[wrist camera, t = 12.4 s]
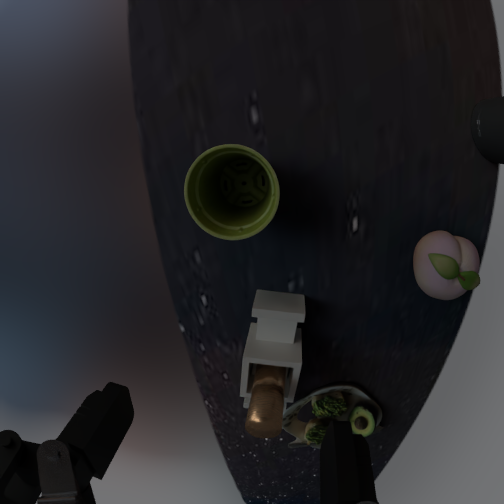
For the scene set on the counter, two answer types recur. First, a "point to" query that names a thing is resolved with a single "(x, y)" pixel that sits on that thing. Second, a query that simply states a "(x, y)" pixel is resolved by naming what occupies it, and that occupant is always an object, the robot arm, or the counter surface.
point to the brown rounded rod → (266, 402)
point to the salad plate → (333, 413)
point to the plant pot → (231, 192)
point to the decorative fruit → (446, 265)
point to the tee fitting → (274, 340)
